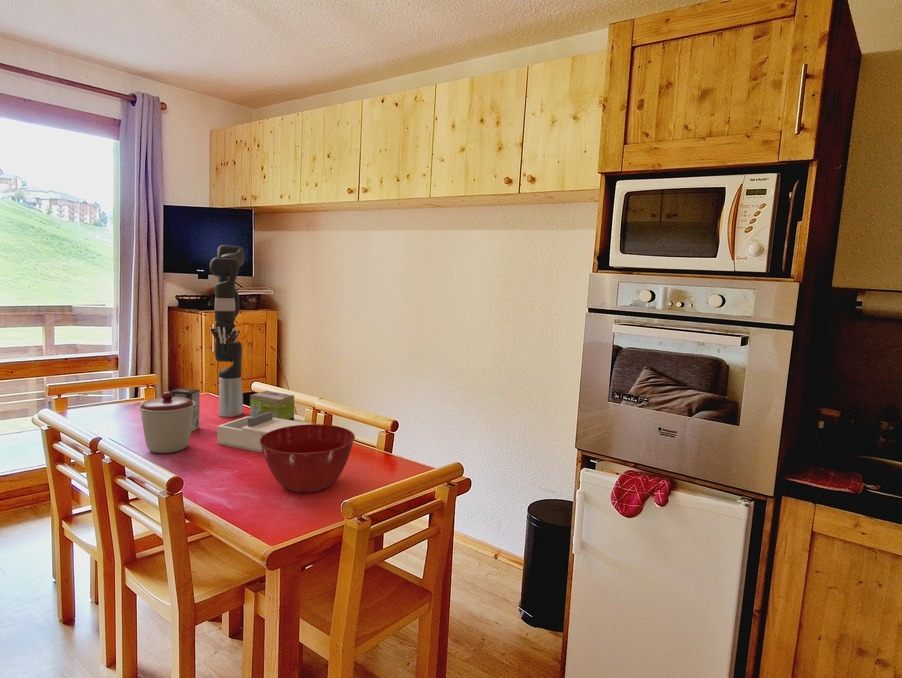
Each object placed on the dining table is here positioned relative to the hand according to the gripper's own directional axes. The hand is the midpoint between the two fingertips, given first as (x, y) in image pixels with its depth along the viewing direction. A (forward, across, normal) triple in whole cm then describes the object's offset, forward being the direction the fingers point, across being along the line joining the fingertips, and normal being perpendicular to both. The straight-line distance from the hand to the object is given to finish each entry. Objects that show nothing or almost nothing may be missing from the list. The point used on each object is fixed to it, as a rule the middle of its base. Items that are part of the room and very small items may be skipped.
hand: (225, 352), depth 216 cm
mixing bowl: (+32, -61, +31) cm, 76 cm away
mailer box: (+32, -19, +6) cm, 38 cm away
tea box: (+32, -14, -11) cm, 37 cm away
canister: (+32, +2, +26) cm, 41 cm away
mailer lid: (+25, -31, +6) cm, 40 cm away
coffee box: (+32, +16, +5) cm, 36 cm away
